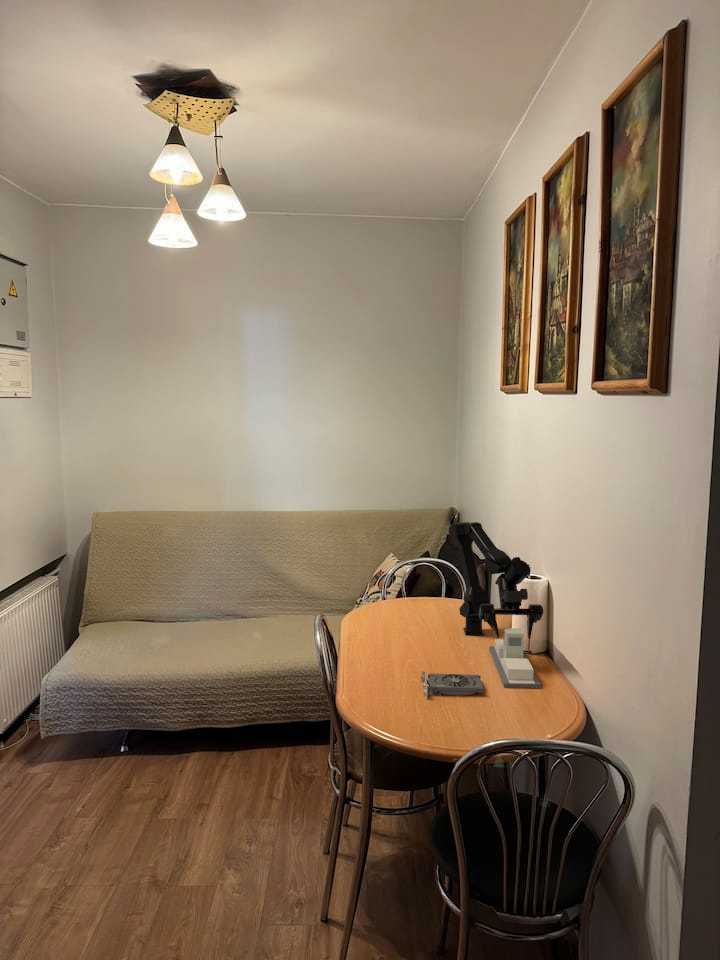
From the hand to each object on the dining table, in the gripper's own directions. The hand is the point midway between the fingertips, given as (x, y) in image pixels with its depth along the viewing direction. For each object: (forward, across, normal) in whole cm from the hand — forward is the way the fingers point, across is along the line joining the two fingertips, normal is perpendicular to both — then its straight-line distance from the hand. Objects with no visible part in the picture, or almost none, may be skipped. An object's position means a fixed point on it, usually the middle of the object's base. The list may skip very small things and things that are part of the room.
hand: (513, 638), depth 187 cm
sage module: (+5, 0, +6) cm, 8 cm away
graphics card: (+18, -19, -4) cm, 27 cm away
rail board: (+6, 0, +7) cm, 9 cm away
